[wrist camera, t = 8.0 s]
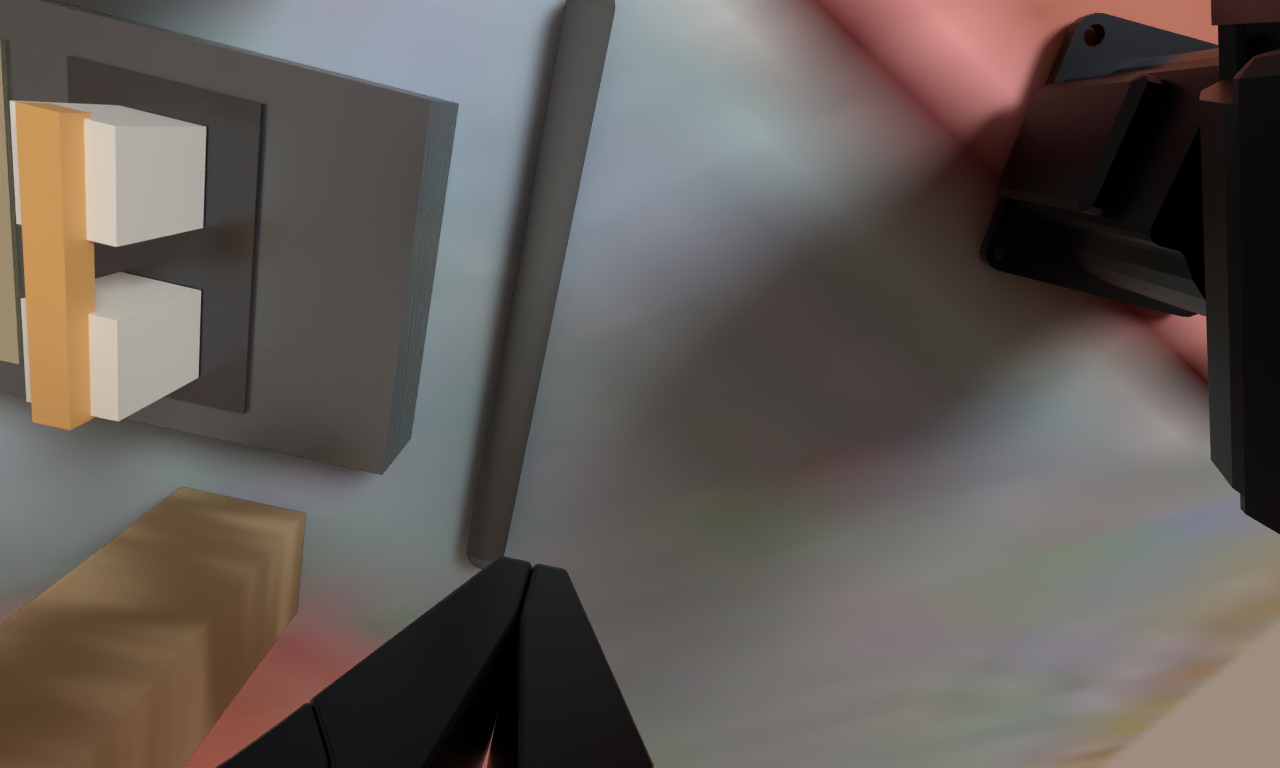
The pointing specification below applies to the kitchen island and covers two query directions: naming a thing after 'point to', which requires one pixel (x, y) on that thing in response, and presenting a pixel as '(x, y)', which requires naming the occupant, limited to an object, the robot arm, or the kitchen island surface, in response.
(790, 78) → the kitchen island surface
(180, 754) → the oak post
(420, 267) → the breaker panel
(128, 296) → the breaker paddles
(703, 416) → the kitchen island surface
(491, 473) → the dark gray rod
